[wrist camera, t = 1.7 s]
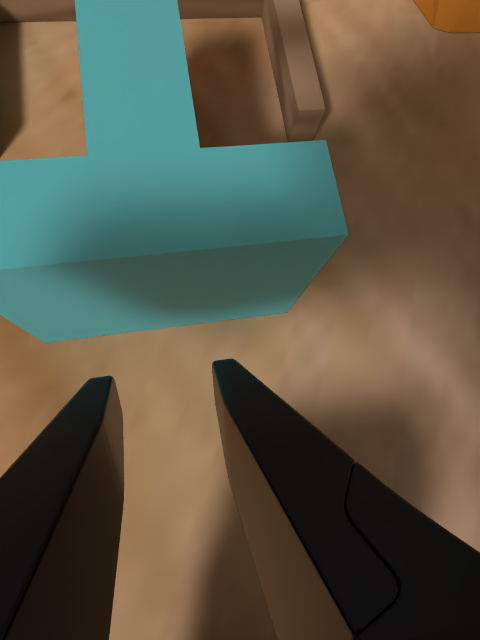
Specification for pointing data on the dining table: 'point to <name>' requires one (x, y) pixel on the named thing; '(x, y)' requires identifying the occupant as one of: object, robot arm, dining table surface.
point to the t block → (157, 201)
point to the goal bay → (269, 3)
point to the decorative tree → (452, 14)
